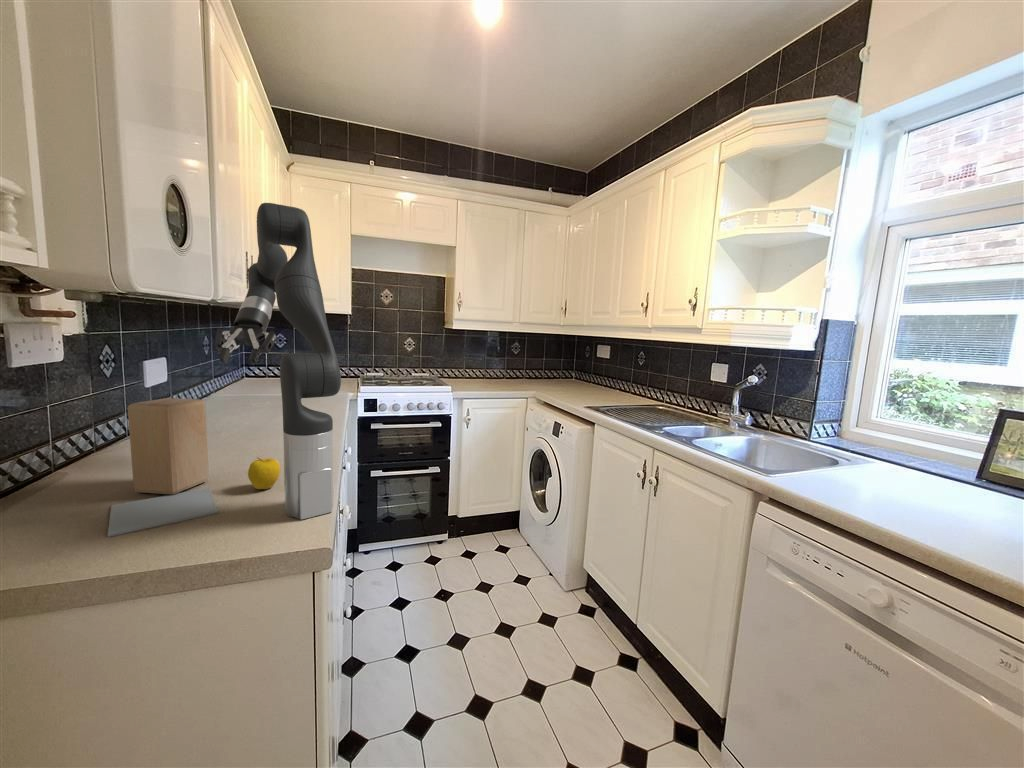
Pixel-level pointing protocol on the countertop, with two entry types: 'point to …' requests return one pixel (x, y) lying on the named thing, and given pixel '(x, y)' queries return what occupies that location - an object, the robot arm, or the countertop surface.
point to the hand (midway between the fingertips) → (237, 362)
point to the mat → (160, 511)
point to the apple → (264, 473)
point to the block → (168, 445)
